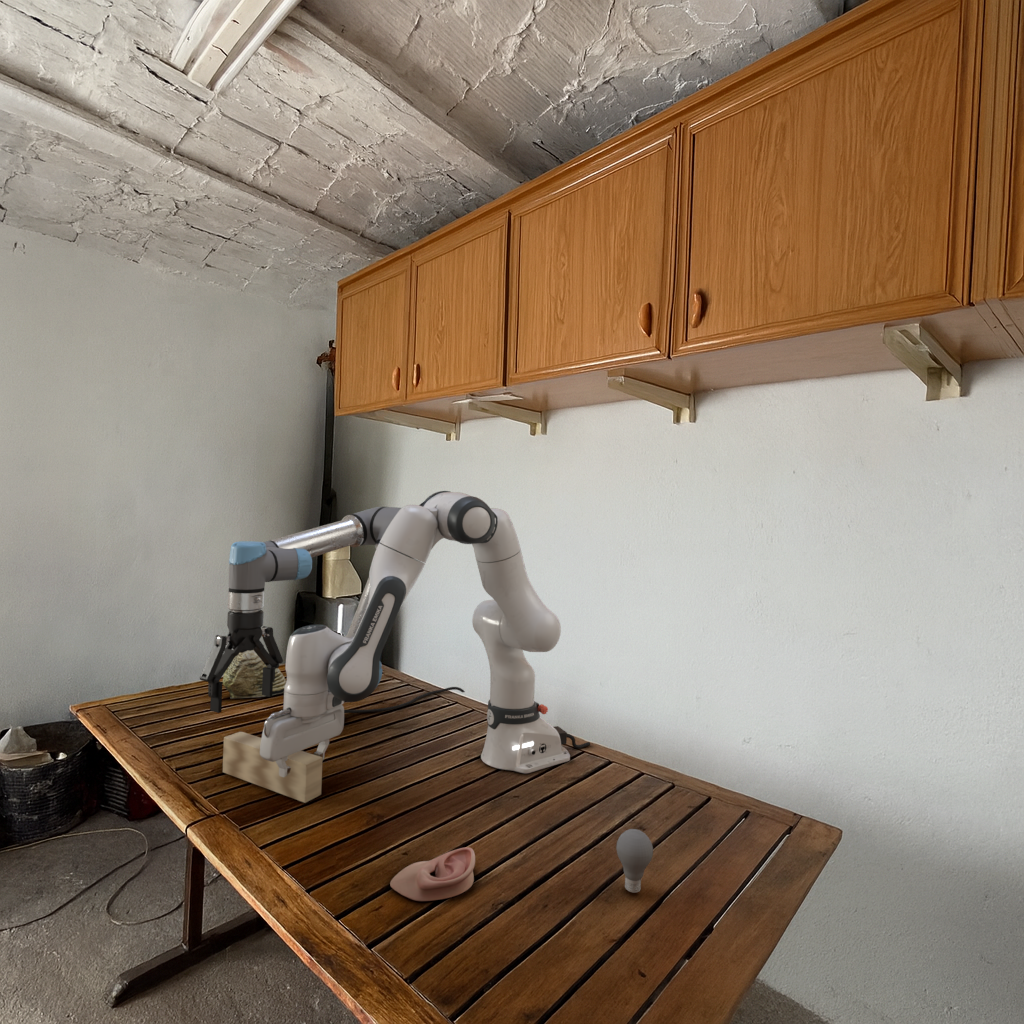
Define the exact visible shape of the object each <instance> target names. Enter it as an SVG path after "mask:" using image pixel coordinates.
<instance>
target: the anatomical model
mask: <svg viewBox="0 0 1024 1024" xmlns="http://www.w3.org/2000/svg"><path fill="white" fill-rule="evenodd" d="M475 867H476V854H475V851H474V849H473V848H471V847H469V846H468V847H465V846H464V847H460V848H457V849H454V850H450V851H448V852H445V853H443V854H441V855H439V856H437V857H435V858H433V859H430V860H423V861H421V860H420V861H417V862H413V863H411V864H408V866H406V867H404V868H402V869H401V870H400V871H399V872H397V874H395V875H394V876H393V877H392V878H391V880H390V882H389V884H390V888H391V889H392V890H394V891H395V892H397V893H398V894H400V895H401V896H403V897H405V898H408V899H410V900H412V901H416V902H431V901H438V900H445V899H449V898H452V897H456V896H459V895H461V894H463V893H464V892H467V891H468V890H469V889H470V888H471V887H472V886H473V884H474V881H475V877H474V868H475Z"/></svg>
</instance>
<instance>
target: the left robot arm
mask: <svg viewBox="0 0 1024 1024" xmlns="http://www.w3.org/2000/svg"><path fill="white" fill-rule="evenodd" d="M401 508H402V507H395V506H376V507H372V508H368V509H364V510H361V511H358V512H354V513H350V514H347V515H345V516H344V517H343V518H342V519H341V520H338V521H335V522H332V523H327V524H324V525H320V526H316V527H313V528H310V529H306V530H302V531H298V532H295V533H290V534H288V535H284V536H281V537H277V538H273V539H270V540H266V541H257V540H256V541H251V540H249V541H247V540H242V541H240V540H239V541H235V542H233V543H232V544H231V546H230V551H229V559H228V593H227V609H228V610H229V611H227V618H226V619H227V620H226V626H227V629H228V633H227V635H220V634H216V635H215V636H214V641H213V646H212V648H211V651H210V653H209V656H208V657H207V660H206V662H205V664H204V666H203V669H202V671H201V673H200V676H199V680H200V681H203V682H206V683H207V685H208V687H207V696H208V698H210V704H209V705H210V707H209V708H210V710H209V711H211V712H214V713H217V714H220V713H222V708H223V707H222V706H223V705H222V703H223V681H220V680H221V679H222V678H223V677H224V676H223V675H224V673H225V671H226V670H227V668H228V667H229V665H230V664H231V662H232V661H233V659H234V658H235V656H237V655H238V654H239V653H240V652H241V653H242V652H245V651H247V650H248V651H251V650H254V651H255V652H256V654H257V655H258V656H259V657H260V659H261V660H262V661H263V662H264V664H265V665H266V666H267V667H263V677H262V695H264V696H265V697H268V698H271V697H273V695H272V692H273V681H274V680H275V668H278V669H279V667H280V665H281V664H283V662H284V659H283V656H282V654H281V651H280V649H279V647H278V644H277V641H276V639H275V636H274V628H273V627H271V626H266V625H264V613H265V612H264V610H263V608H264V606H265V586H266V583H271V582H284V581H297V580H301V579H302V580H303V579H305V578H307V577H309V575H310V574H311V572H312V569H313V558H315V557H318V556H321V555H324V554H327V553H330V552H334V551H337V550H340V549H343V548H347V547H352V548H358V547H361V546H374V548H375V550H376V549H377V547H378V545H379V543H380V540H381V538H382V536H383V535H384V533H385V531H386V529H387V528H388V526H389V524H390V523H391V521H392V520H393V518H394V517H395V515H396V514H397V513H398V511H399V510H400V509H401ZM380 544H382V543H380ZM383 545H384V544H383ZM385 546H386V545H385ZM369 596H370V579H369V577H368V578H367V581H366V583H365V586H364V588H363V592H362V594H361V597H360V599H359V602H358V604H357V607H356V610H355V612H354V615H353V617H352V620H351V623H350V626H349V629H348V632H347V634H346V635H345V636H344V637H347V638H351V639H353V638H354V636H355V634H356V631H357V629H358V627H359V625H360V622H361V620H362V618H363V616H364V613H365V611H366V608H367V605H368V601H369ZM261 638H262V640H263V643H264V644H263V643H262V641H261ZM265 647H266V648H265ZM382 667H383V664H382V662H381V661H380V662H379V681H378V684H377V686H376V688H378V686H379V685H380V682H381V680H382V677H383V668H382ZM376 688H375V690H376ZM453 690H454V691H455V690H456V691H459V692H461V693H465V692H466V691H465V690H464V689H463V688H461V687H458V686H450V687H446V688H442V689H438V690H437V689H436V690H432V691H428V692H426V693H423V694H420V695H417V696H416V697H415V698H414V697H413V698H412V699H411V700H409V701H406V702H403V703H400V704H397V705H393V706H388V707H381V708H372V709H344V714H367V713H368V714H369V713H379V712H387V711H392V710H393V711H394V710H396V709H400V708H403V707H407V706H408V705H411V704H413V703H415V702H417V701H418V700H421V699H423V698H426V697H428V696H431V695H435V694H440V693H444V692H449V691H453ZM328 691H330V690H329V688H328Z"/></svg>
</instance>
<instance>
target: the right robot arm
mask: <svg viewBox="0 0 1024 1024" xmlns="http://www.w3.org/2000/svg"><path fill="white" fill-rule="evenodd" d="M400 508H401V509H400V510H399V511H398V513H397V514H396V515H395V517H394V518H393V520H392V521H391V523H390V524H389V526H388V528H387V529H386V531H385V533H384V535H383V536H382V538H381V540H380V543H382V544H380V543H379V545H378V547H377V549H376V548H375V551H374V554H373V556H372V560H371V563H370V568H369V572H368V578H369V579H370V596H369V601H368V605H367V608H366V611H365V613H364V616H363V618H362V620H361V622H360V625H359V627H358V629H357V631H356V634H355V636H354V638H353V639H351V638H347V637H345V636H344V635H342V634H339V633H337V632H335V631H333V630H332V629H331V628H330V627H328V626H327V625H325V624H309V625H305V626H302V627H299V628H297V629H295V630H294V631H293V632H292V633H291V635H290V636H289V639H288V642H287V647H286V653H285V654H286V655H285V665H284V669H285V674H286V684H285V688H284V692H283V706H282V709H281V710H279V711H275V712H272V713H271V714H270V715H269V717H267V718H266V720H265V721H264V723H263V729H262V733H261V737H260V738H261V744H260V756H261V757H262V758H263V759H265V760H268V761H271V762H274V761H275V762H276V763H277V765H278V767H279V776H281V777H286V776H288V775H290V773H291V772H290V770H291V767H290V766H287V765H286V763H285V761H287V759H288V756H289V755H291V754H294V753H296V752H299V751H304V750H307V749H308V748H310V747H313V746H316V745H318V746H317V749H316V751H314V752H313V755H317V756H320V757H323V761H324V760H325V756H326V755H325V753H326V751H327V749H328V747H329V745H330V740H331V739H332V738H335V737H338V736H340V735H341V734H342V732H343V730H344V727H345V713H344V710H345V707H344V703H356V702H360V701H363V700H365V699H367V698H368V697H370V696H371V695H372V694H373V693H374V691H375V690H376V689H375V688H377V687H378V686H377V684H378V681H379V662H381V655H382V653H383V650H384V648H385V645H386V643H387V640H388V638H389V636H390V633H391V631H392V628H393V627H394V624H395V622H396V619H397V617H398V614H399V612H400V610H401V608H402V606H403V605H404V603H405V601H406V599H407V597H409V594H410V593H411V591H412V589H413V588H414V586H415V584H416V582H417V581H418V579H419V577H420V575H421V573H422V572H423V569H424V568H425V565H426V563H427V561H428V559H429V556H430V554H431V551H432V550H433V548H434V547H435V545H436V544H437V543H438V542H440V541H441V540H442V539H445V540H448V541H451V542H452V541H453V542H457V543H459V544H462V545H472V548H473V552H474V557H475V560H476V565H477V568H478V573H479V577H480V581H481V584H482V587H483V590H484V591H485V593H486V594H487V595H488V596H489V597H491V598H492V599H486V600H485V599H484V600H483V601H481V602H479V604H477V606H476V607H475V609H474V611H473V614H472V621H471V622H472V627H473V630H474V631H475V633H476V634H477V636H478V637H479V639H480V640H481V642H482V644H483V648H484V650H485V652H486V656H487V660H488V665H489V673H490V677H489V678H490V680H489V681H490V683H489V684H490V685H489V686H490V687H489V699H488V702H487V713H486V721H487V723H486V724H487V729H486V736H485V740H484V741H485V742H484V744H483V748H482V752H481V755H480V759H481V761H482V762H483V763H484V764H486V765H487V766H490V767H491V768H495V769H498V770H505V771H513V772H516V773H520V774H531V773H534V772H537V771H540V770H544V769H547V768H550V767H553V766H557V765H560V764H563V763H567V762H569V761H571V754H570V752H569V751H568V750H567V748H565V747H564V746H563V745H567V741H568V739H569V740H571V745H572V747H573V748H574V749H577V750H580V749H584V748H586V747H590V746H591V742H590V741H589V742H588V741H587V742H584V743H581V744H576V738H575V737H574V735H572V734H570V733H568V732H567V731H566V730H564V729H563V728H562V727H560V726H558V725H556V726H552V724H550V722H548V720H547V721H546V720H545V719H544V718H543V717H542V716H541V715H540V713H541V714H542V715H547V713H548V712H549V709H548V708H549V707H548V706H546V705H544V704H542V703H541V704H540V703H539V702H537V701H535V693H536V692H535V691H536V672H535V670H534V668H533V666H532V665H531V663H529V661H528V660H527V658H526V656H525V653H524V652H529V653H548V652H550V651H552V650H553V649H554V648H555V647H556V646H557V644H559V643H558V642H559V641H560V638H561V634H562V625H561V622H560V619H559V617H558V616H557V615H556V614H555V613H554V612H552V610H550V609H549V607H547V606H546V604H545V603H544V602H543V600H542V599H541V598H540V596H539V594H538V592H537V591H536V590H535V588H534V586H533V585H532V582H531V581H530V578H529V576H528V572H527V568H526V564H525V562H524V557H523V552H522V548H521V545H520V539H519V537H518V533H517V530H516V528H515V526H514V524H513V521H512V519H511V517H510V515H509V514H508V513H507V512H506V511H505V510H504V509H502V508H497V507H495V508H494V507H490V506H489V505H488V504H487V503H486V502H485V501H484V500H483V499H481V498H479V497H477V496H472V495H469V494H467V493H464V492H459V491H455V492H454V491H450V490H440V491H436V492H433V493H432V494H430V495H428V497H427V498H426V499H425V500H424V501H422V502H421V503H420V504H406V505H404V506H402V507H400ZM383 544H384V545H383ZM385 545H386V546H385ZM378 685H379V684H378ZM376 686H377V687H376ZM328 688H329V690H330V691H328Z"/></svg>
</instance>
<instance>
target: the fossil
mask: <svg viewBox="0 0 1024 1024" xmlns="http://www.w3.org/2000/svg"><path fill="white" fill-rule="evenodd" d="M263 667H267V666H266V665H265V664H264V662H263V661H262V660H261V659H260V657H259V656H258V655H257V654H256V652H255V651H254V650H251V651H248V650H247V651H245V652H242V653H241V652H240V653H239V654H238V655H237V656H235V658H234V659H233V661H232V662H231V664H230V665H229V667H228V668H227V670H226V671H225V673H224V674H223V676H222V686H223V687H224V688H225V690H226V691H228V693H229V698H230V699H250V698H264V697H266V696H264V695H262V677H263ZM286 681H287V679H286V678H285V676H284V674H283V673H282V672H281V669H279V667H278V668H275V680H274V681H273V692H272V696H275V695H281V694H284V688H285V684H286Z"/></svg>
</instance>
